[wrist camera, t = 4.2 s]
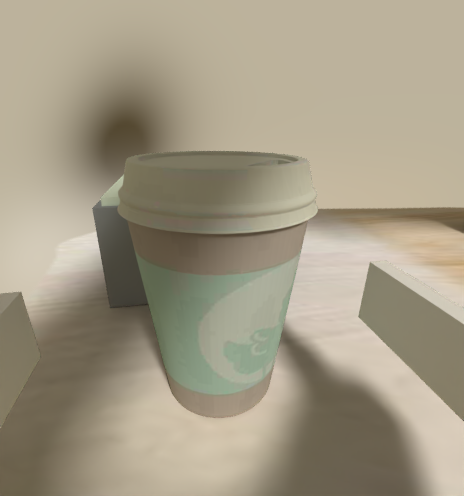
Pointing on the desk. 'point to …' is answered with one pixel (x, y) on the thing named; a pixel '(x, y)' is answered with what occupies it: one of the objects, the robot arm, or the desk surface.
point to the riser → (118, 252)
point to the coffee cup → (218, 265)
